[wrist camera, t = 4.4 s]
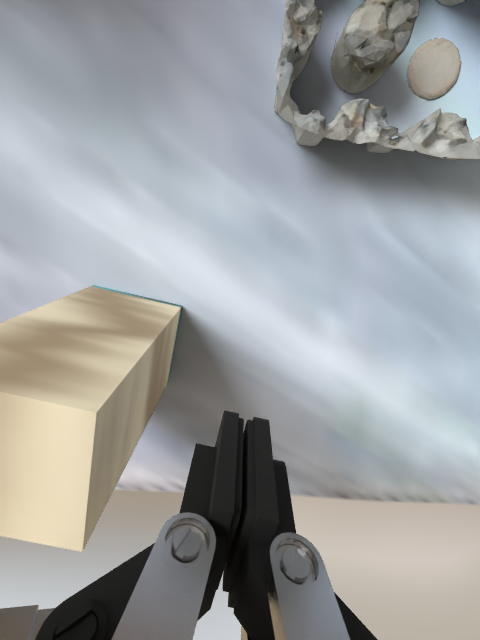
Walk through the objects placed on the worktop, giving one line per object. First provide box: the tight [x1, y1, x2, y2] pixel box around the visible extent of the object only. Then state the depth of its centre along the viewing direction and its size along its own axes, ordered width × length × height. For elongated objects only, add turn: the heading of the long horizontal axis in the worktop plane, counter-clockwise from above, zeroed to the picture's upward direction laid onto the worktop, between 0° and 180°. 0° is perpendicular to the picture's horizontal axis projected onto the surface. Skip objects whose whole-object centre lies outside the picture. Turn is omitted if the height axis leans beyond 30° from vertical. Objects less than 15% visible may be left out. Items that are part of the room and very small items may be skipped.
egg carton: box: [274, 0, 480, 160], centre depth 12 cm, size 11×8×4 cm
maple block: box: [0, 285, 182, 552], centre depth 13 cm, size 5×5×10 cm
